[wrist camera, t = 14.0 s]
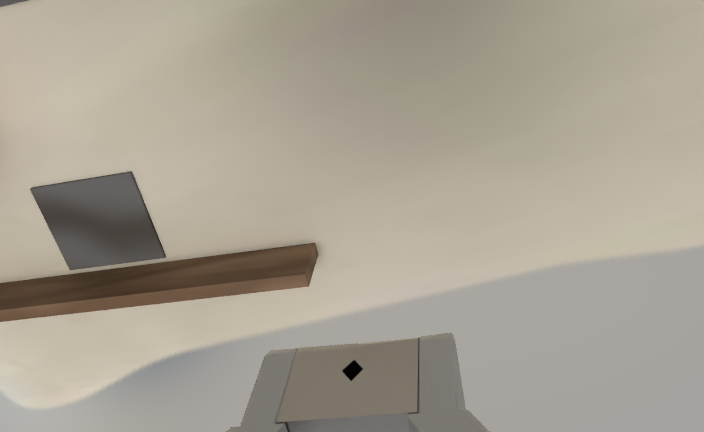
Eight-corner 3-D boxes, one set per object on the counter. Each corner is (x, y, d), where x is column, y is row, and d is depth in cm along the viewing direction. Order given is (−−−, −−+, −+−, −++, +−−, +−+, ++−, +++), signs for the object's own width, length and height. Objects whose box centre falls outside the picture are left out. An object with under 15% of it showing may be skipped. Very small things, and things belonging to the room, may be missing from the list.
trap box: (-270, -92, 36) (-388, -90, 31) (188, -226, 30) (138, -252, 25) (-35, 298, 49) (-91, 347, 44) (318, 254, 43) (303, 304, 38)
